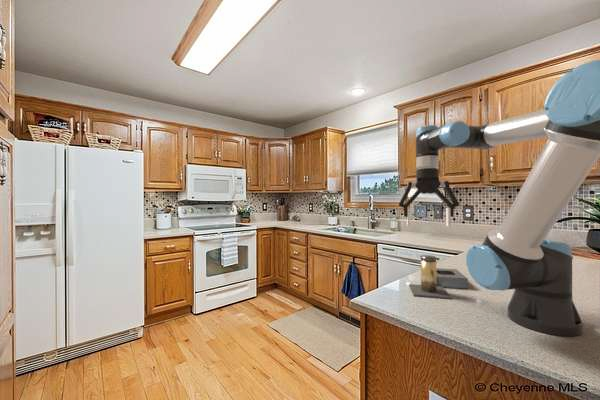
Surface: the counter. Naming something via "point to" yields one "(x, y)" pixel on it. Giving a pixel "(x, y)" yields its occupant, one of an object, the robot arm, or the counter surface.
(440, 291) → the mat
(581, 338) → the counter surface
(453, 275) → the block
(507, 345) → the counter surface
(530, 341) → the counter surface
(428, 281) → the glass jar
